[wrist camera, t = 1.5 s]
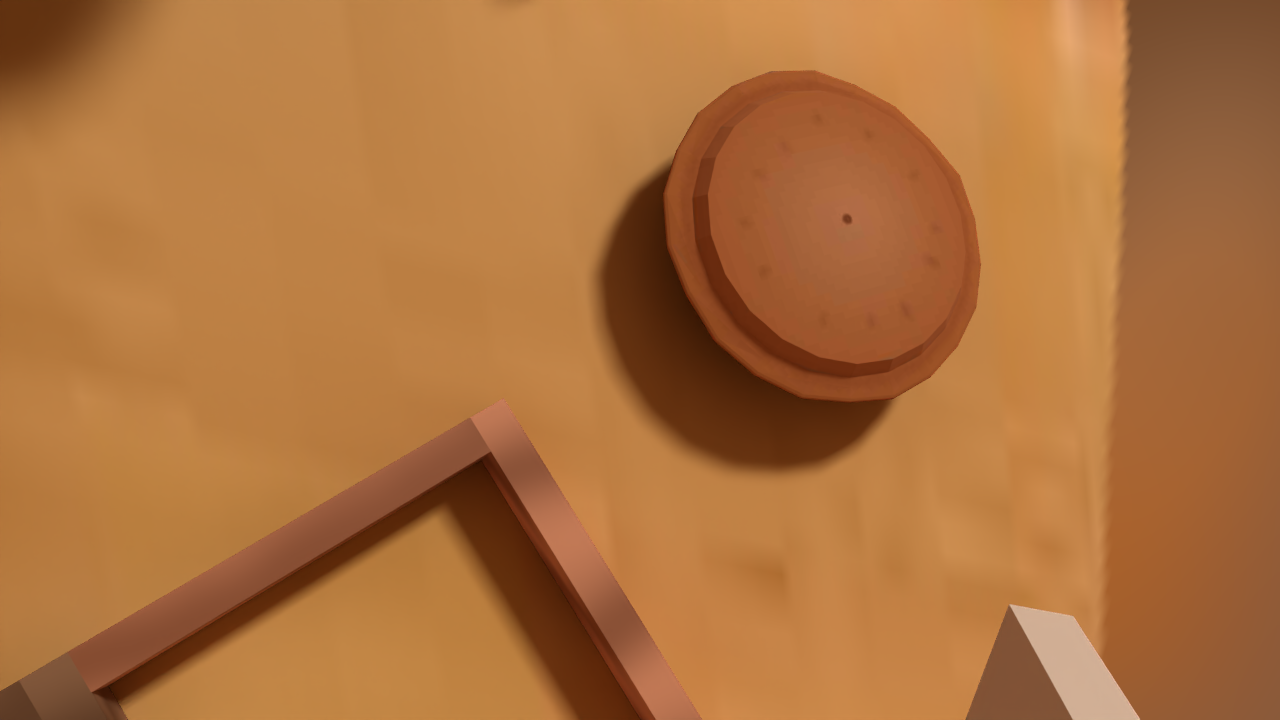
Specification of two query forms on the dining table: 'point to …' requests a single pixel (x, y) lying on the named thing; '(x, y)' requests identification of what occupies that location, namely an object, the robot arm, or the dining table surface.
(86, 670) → the rail frame
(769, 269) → the pie
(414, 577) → the dining table surface
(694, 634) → the dining table surface
